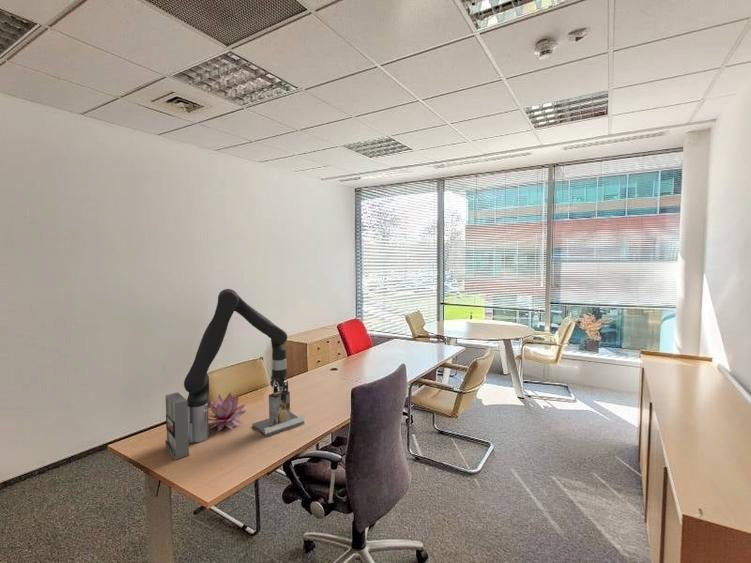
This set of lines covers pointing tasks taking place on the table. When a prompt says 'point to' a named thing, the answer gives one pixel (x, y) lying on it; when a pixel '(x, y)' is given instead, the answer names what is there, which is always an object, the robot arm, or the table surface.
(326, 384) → the table surface
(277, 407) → the coffee box
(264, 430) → the shelf
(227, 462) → the table surface
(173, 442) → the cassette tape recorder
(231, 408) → the decorative flower
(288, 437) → the table surface
